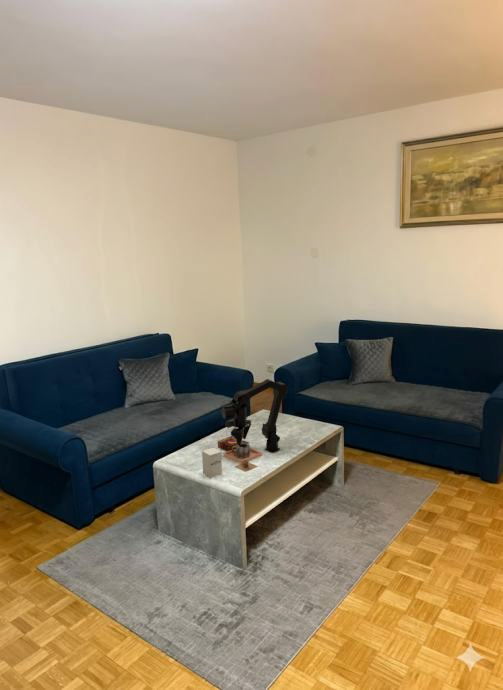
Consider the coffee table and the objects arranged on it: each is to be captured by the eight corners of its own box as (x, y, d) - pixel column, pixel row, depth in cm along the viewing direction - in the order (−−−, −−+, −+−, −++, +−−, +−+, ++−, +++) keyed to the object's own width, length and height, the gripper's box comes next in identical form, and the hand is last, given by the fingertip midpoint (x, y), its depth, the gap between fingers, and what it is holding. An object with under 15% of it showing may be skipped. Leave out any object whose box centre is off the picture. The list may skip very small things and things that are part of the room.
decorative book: (234, 455, 279) (233, 447, 278) (216, 447, 291) (215, 439, 290) (249, 449, 287) (248, 441, 286) (231, 442, 298) (230, 434, 297)
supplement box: (210, 478, 251) (209, 455, 249) (202, 473, 257) (201, 450, 255) (222, 474, 255) (221, 451, 253) (214, 469, 261) (213, 447, 259)
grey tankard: (251, 453, 278) (250, 443, 277) (248, 458, 272) (247, 448, 270) (235, 452, 281) (235, 442, 279) (232, 457, 274) (231, 447, 273)
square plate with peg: (246, 462, 269) (246, 456, 268) (258, 467, 262) (258, 461, 262) (234, 467, 263) (233, 461, 262) (245, 472, 256) (245, 466, 256)
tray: (243, 448, 287) (243, 445, 286) (262, 456, 276) (261, 452, 275) (223, 456, 277) (223, 453, 276) (241, 465, 266) (241, 461, 265)
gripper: (232, 408, 282) (233, 434, 285) (221, 419, 265) (222, 447, 268) (251, 410, 279) (252, 436, 282) (240, 421, 262) (241, 449, 265)
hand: (241, 442), depth 274 cm, fingers open, 9 cm apart
